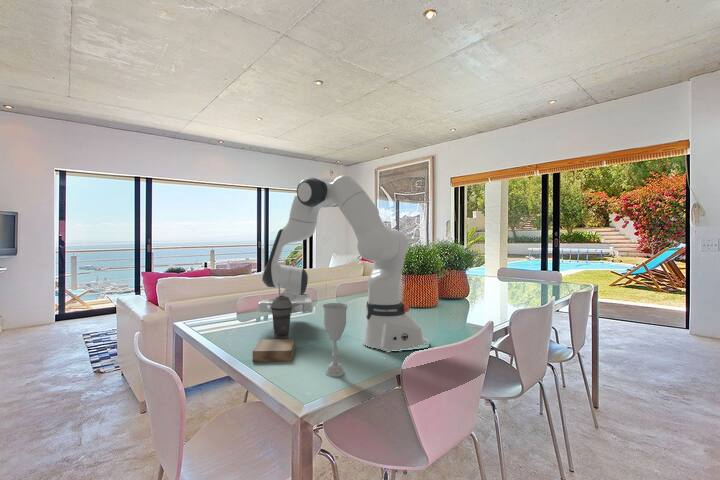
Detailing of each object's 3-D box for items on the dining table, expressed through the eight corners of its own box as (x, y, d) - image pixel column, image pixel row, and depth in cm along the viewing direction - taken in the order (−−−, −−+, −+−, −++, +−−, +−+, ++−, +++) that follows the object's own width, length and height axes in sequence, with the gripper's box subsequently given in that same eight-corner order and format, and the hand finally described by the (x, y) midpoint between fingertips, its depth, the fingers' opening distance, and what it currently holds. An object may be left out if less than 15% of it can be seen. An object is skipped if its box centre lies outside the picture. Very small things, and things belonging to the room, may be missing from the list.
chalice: (322, 367, 95) (322, 303, 95) (346, 367, 96) (347, 302, 95) (321, 378, 88) (322, 308, 88) (348, 378, 88) (348, 308, 88)
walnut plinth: (294, 348, 111) (295, 339, 111) (291, 360, 100) (291, 350, 100) (260, 349, 110) (260, 339, 110) (252, 361, 99) (252, 351, 99)
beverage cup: (286, 344, 115) (287, 284, 114) (266, 343, 116) (267, 284, 116) (295, 338, 122) (295, 282, 122) (276, 336, 123) (276, 281, 123)
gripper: (261, 294, 135) (253, 301, 121) (313, 294, 137) (311, 300, 123) (261, 310, 135) (253, 319, 121) (313, 310, 137) (311, 318, 123)
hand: (283, 310), depth 122 cm, fingers open, 8 cm apart
